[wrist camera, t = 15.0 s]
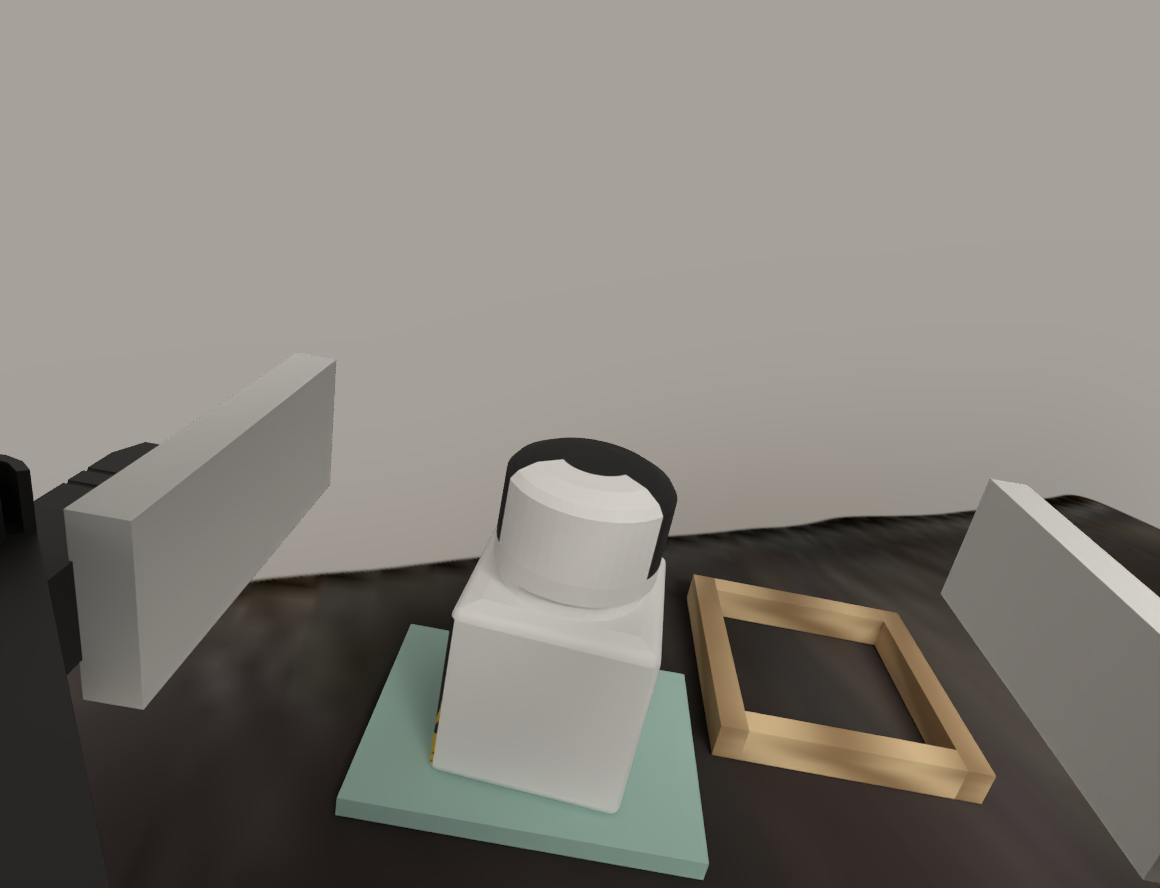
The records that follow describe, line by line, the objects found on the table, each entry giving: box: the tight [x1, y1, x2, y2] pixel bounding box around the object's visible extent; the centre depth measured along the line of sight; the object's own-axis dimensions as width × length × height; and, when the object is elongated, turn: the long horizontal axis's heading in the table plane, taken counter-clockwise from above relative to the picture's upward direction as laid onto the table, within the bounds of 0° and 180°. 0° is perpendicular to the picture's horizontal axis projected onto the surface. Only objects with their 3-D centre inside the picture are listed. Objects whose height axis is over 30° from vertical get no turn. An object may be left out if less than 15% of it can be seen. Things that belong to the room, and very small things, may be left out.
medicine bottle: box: [430, 438, 677, 814], centre depth 28 cm, size 7×7×12 cm
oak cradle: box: [687, 575, 996, 804], centre depth 37 cm, size 12×12×2 cm
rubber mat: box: [335, 624, 709, 880], centre depth 30 cm, size 13×10×1 cm
